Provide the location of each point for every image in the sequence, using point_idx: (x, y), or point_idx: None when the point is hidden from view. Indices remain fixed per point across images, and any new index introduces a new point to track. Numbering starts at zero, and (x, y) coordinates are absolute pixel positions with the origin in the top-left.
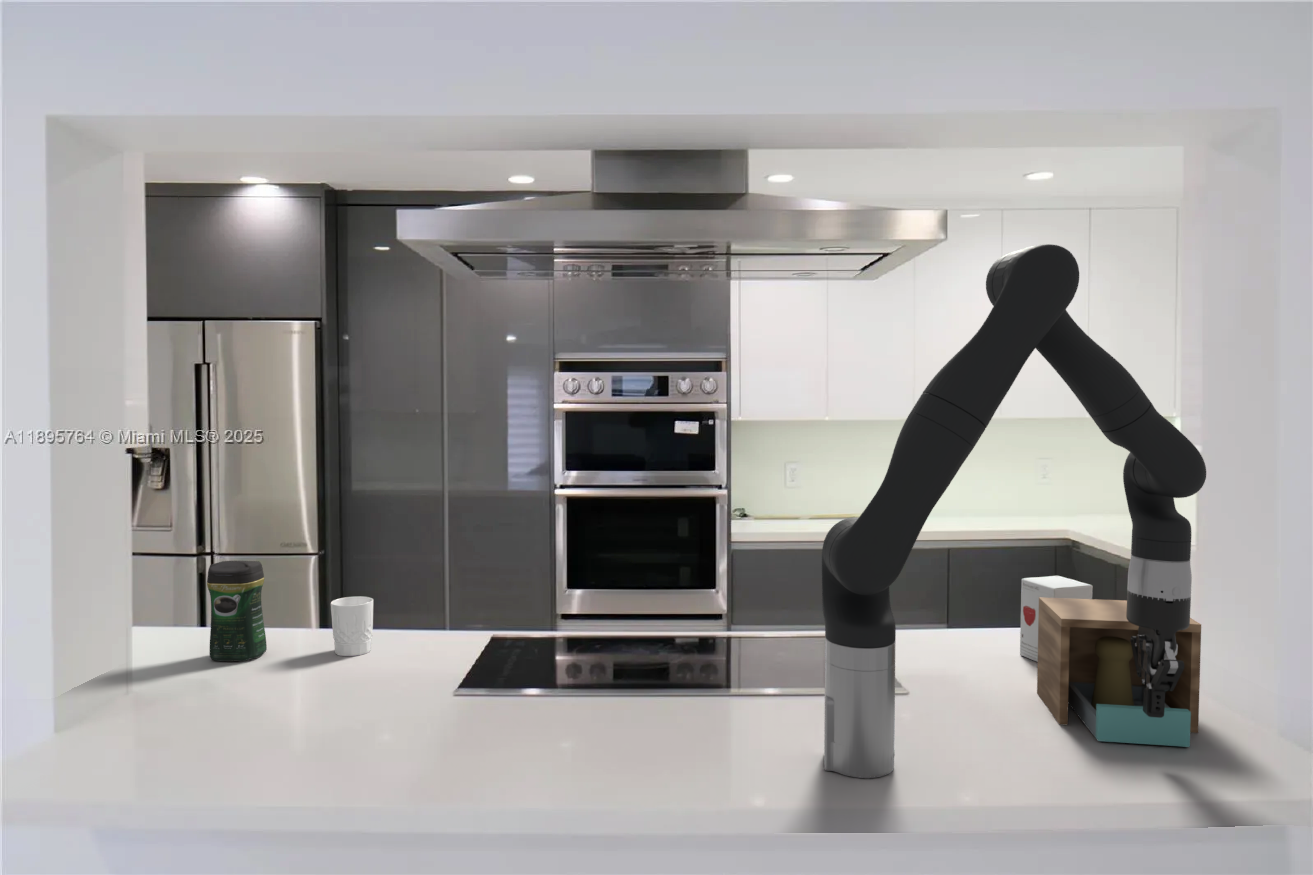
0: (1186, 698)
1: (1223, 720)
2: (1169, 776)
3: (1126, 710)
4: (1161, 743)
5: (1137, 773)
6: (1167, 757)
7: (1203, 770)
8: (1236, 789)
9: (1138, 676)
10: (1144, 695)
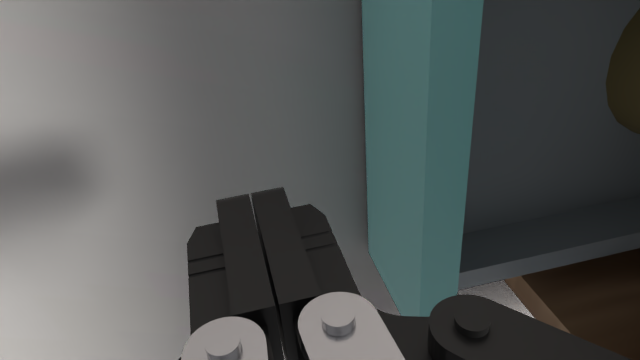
0: (605, 330)
1: None
2: (53, 155)
3: (424, 97)
4: (367, 176)
5: (16, 32)
6: (267, 175)
7: (179, 264)
8: (41, 330)
9: (448, 300)
10: (286, 255)
